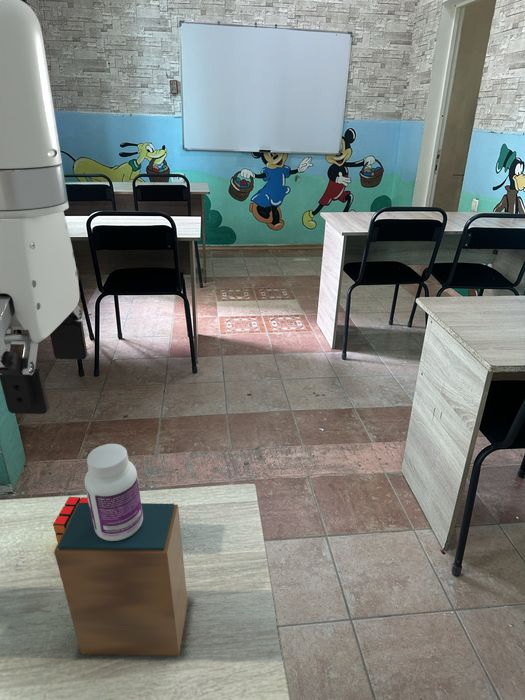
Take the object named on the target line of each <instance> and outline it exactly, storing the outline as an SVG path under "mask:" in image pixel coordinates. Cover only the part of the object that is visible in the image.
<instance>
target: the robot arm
mask: <svg viewBox="0 0 525 700" xmlns="http://www.w3.org/2000/svg"><path fill="white" fill-rule="evenodd" d="M49 75H50V74H49V67H48V63H47V55H46V50H45V42H44V37H43V32H42V27H41V24H40V21H39V19H38V17H37V14H36V13H35V11H34V10H33V9H32V7H30V6H29V5H28V4H27V3H26V2H25V1H23V0H0V385H1V388H2V392H3V395H4V400H5V405H6V408H7V411H8V412H9V413H10V414H22V415H23V414H24V415H25V414H26V415H28V414H29V415H45V414H46V413H47V412H48V411H49V409H50V405H49V401H48V396H47V391H46V385H45V381H44V377H43V372H42V371H43V370H42V368H36V365H37V357H38V351H39V344H40V343H41V342H42V341H44V340H45V339H46V338H48V337H50V341H51V346H52V352H53V356H54V358H55V359H57V360H85V359H86V358H87V357H88V349H87V343H86V336H85V328H84V323H83V321H82V320H83V310H82V308H81V306H80V298H81V296H82V295H81V291H80V286H79V285H80V284H79V269H78V268H77V266H76V260H75V255H74V249H73V244H72V241H71V236H70V232H69V231H70V230H69V227H68V224H67V219H66V215H65V211H66V210H69V208H70V206H69V200H68V193H67V186H66V180H65V179H66V178H65V172H64V167H63V161H62V154H61V153H62V152H61V146H60V142H59V141H60V140H59V134H58V128H57V121H56V120H57V119H56V115H55V107H54V102H53V96H52V95H53V94H52V90H51V89H52V88H51V81H50V76H49ZM12 330H15V331H16V330H18V331H19V330H22V331H23V330H24V331H27V333H12ZM12 345H23V352H22V353H23V354H22V356H20V355H18V354H17V353H16V352H14V351H12V350H11V346H12Z"/></svg>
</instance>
